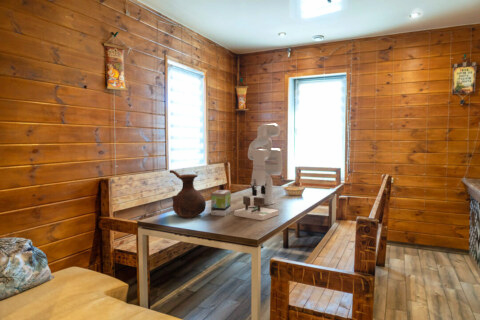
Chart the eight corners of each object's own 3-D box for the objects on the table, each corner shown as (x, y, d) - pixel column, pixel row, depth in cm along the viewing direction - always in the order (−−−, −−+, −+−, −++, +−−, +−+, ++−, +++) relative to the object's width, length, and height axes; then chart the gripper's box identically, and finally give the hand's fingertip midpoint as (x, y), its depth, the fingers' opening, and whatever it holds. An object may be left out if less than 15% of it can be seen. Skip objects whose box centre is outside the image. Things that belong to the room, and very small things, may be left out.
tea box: (225, 216, 204) (225, 193, 203) (210, 215, 206) (210, 193, 205) (231, 211, 219) (230, 189, 218) (217, 210, 221) (216, 189, 220)
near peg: (255, 209, 208) (255, 197, 208) (264, 210, 204) (264, 198, 203) (247, 211, 201) (247, 199, 201) (256, 213, 197) (256, 200, 196)
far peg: (247, 210, 205) (247, 197, 205) (243, 208, 212) (243, 196, 211) (259, 209, 209) (259, 197, 208) (255, 207, 215) (255, 195, 214)
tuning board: (251, 210, 221) (251, 205, 221) (278, 214, 207) (278, 209, 207) (234, 215, 206) (234, 210, 206) (262, 220, 192) (262, 215, 192)
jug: (187, 210, 221) (186, 167, 219) (212, 214, 210) (211, 169, 208) (164, 217, 202) (164, 170, 200) (191, 221, 191) (190, 172, 189)
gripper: (261, 167, 212) (261, 192, 213) (246, 168, 199) (246, 195, 200) (271, 168, 208) (271, 193, 208) (255, 169, 194) (255, 197, 195)
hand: (258, 194), depth 204 cm, fingers open, 9 cm apart
